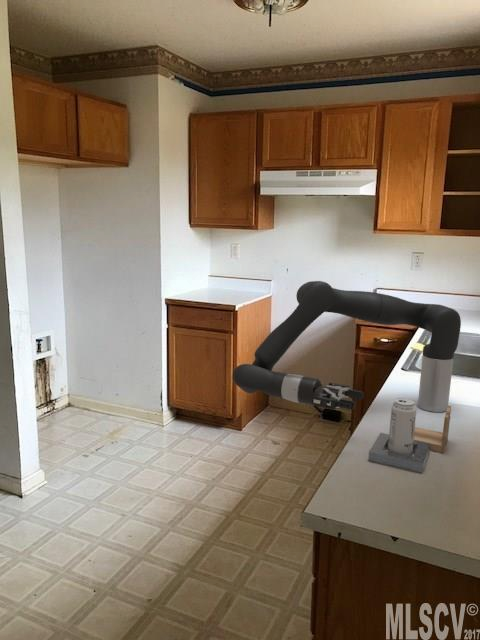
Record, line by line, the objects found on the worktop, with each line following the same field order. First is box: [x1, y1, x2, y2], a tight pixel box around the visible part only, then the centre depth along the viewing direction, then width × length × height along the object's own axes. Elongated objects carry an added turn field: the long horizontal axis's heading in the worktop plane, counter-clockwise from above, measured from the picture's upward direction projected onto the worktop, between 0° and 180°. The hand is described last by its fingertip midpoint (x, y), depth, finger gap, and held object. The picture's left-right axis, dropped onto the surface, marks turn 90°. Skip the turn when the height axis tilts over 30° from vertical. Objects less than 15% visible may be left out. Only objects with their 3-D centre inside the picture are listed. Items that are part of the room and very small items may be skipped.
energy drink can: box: [387, 397, 417, 456], centre depth 133 cm, size 6×6×15 cm
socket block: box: [368, 432, 430, 474], centre depth 135 cm, size 13×13×2 cm
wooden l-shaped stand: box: [414, 405, 452, 454], centre depth 142 cm, size 9×9×10 cm
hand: (359, 400), depth 138 cm, fingers open, 8 cm apart
